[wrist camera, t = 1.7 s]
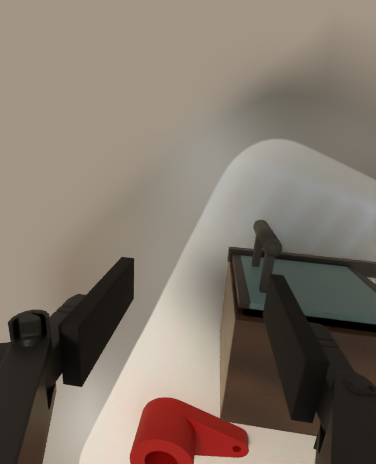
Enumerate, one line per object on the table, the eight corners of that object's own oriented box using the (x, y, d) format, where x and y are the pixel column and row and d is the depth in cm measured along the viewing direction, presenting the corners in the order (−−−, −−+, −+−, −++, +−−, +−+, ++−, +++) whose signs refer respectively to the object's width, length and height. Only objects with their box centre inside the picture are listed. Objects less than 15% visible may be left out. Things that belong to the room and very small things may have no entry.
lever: (139, 432, 46) (126, 476, 40) (145, 392, 44) (133, 432, 37) (240, 456, 45) (244, 506, 39) (253, 417, 43) (259, 463, 36)
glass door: (238, 213, 32) (247, 243, 21) (366, 225, 31) (445, 264, 20) (232, 258, 34) (238, 308, 23) (353, 272, 33) (419, 330, 22)
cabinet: (228, 246, 35) (235, 301, 22) (422, 266, 33) (555, 341, 20) (218, 331, 39) (218, 420, 26) (390, 354, 37) (484, 464, 24)
